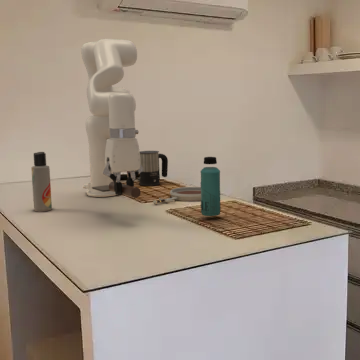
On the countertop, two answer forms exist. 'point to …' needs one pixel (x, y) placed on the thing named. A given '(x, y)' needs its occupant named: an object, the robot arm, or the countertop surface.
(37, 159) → the lotion bottle
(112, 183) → the spatula
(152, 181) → the milk frother
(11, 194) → the countertop surface
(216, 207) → the beverage bottle
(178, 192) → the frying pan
